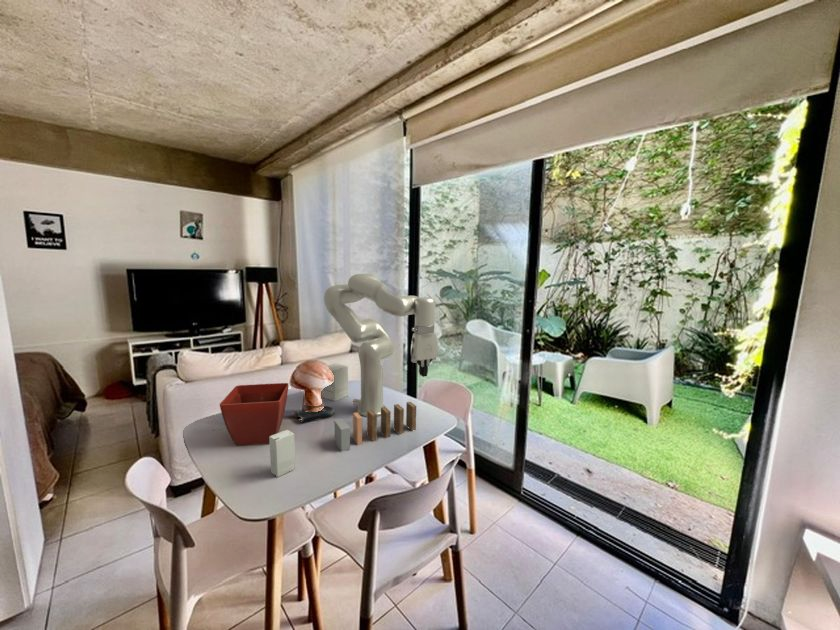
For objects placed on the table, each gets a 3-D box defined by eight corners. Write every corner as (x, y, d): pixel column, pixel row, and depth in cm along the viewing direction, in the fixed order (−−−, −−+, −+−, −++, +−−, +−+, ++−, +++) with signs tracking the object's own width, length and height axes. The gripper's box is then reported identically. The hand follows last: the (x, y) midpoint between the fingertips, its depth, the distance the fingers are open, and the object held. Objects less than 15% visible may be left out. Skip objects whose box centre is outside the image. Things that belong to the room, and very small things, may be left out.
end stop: (341, 451, 118) (341, 429, 117) (334, 441, 125) (334, 420, 124) (350, 449, 120) (349, 427, 118) (342, 439, 126) (342, 418, 125)
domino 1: (372, 441, 125) (372, 415, 124) (367, 435, 130) (367, 410, 128) (376, 440, 126) (376, 414, 125) (371, 434, 130) (371, 409, 129)
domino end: (357, 445, 123) (357, 418, 121) (353, 438, 127) (353, 413, 125) (361, 444, 123) (361, 417, 122) (357, 437, 128) (357, 412, 126)
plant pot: (238, 426, 134) (236, 384, 132) (290, 422, 138) (288, 382, 136) (221, 452, 116) (218, 404, 113) (281, 447, 120) (279, 401, 117)
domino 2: (386, 437, 128) (386, 412, 127) (380, 432, 132) (381, 407, 131) (390, 436, 129) (390, 411, 127) (384, 431, 133) (384, 406, 132)
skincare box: (288, 464, 110) (287, 428, 108) (296, 469, 107) (295, 433, 106) (269, 472, 106) (268, 435, 104) (277, 478, 103) (275, 440, 101)
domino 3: (399, 434, 131) (399, 409, 129) (393, 429, 135) (394, 404, 134) (403, 433, 132) (403, 408, 130) (397, 428, 136) (397, 404, 134)
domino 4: (412, 431, 134) (412, 406, 132) (406, 426, 138) (406, 402, 136) (415, 430, 134) (416, 406, 133) (409, 425, 139) (410, 401, 137)
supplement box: (336, 391, 173) (336, 362, 170) (348, 395, 167) (348, 366, 165) (321, 397, 165) (321, 366, 163) (334, 401, 160) (333, 370, 158)
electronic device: (303, 429, 137) (338, 415, 145) (300, 416, 136) (335, 402, 145) (296, 423, 144) (329, 410, 153) (293, 411, 143) (327, 398, 152)
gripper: (412, 333, 126) (411, 381, 129) (445, 329, 133) (444, 375, 136) (402, 329, 132) (402, 375, 135) (435, 326, 140) (434, 370, 143)
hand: (423, 375), depth 136 cm, fingers closed
